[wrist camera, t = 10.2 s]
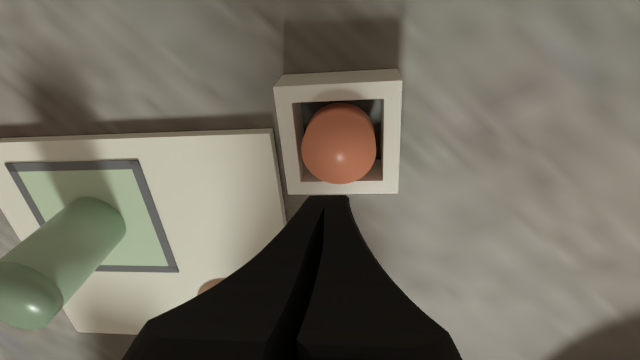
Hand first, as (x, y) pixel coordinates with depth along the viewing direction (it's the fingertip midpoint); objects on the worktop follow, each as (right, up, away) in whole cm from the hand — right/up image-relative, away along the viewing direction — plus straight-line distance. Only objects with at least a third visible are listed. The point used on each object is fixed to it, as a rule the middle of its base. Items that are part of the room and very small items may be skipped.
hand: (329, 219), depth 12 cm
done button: (+1, +4, +7) cm, 8 cm away
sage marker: (-16, -1, +12) cm, 20 cm away
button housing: (+1, +4, +8) cm, 9 cm away
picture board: (-12, -4, +14) cm, 19 cm away
